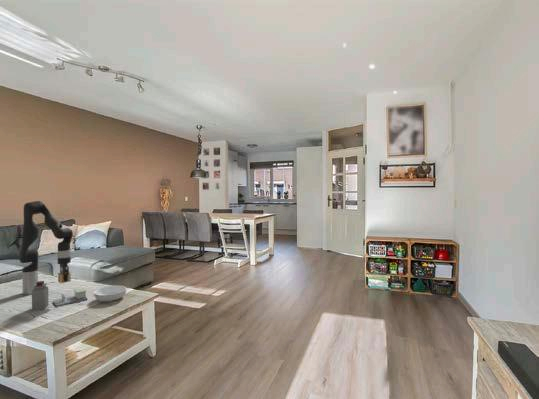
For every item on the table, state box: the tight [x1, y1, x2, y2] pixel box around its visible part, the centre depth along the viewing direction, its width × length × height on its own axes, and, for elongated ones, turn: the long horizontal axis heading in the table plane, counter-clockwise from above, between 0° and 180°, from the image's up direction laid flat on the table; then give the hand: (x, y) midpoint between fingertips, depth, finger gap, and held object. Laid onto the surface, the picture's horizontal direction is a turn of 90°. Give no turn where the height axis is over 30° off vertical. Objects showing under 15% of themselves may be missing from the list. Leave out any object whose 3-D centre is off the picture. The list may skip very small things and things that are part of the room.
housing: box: [73, 287, 87, 299], centre depth 203 cm, size 9×6×5 cm, turn 48°
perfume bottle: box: [31, 280, 49, 312], centre depth 186 cm, size 7×7×18 cm
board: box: [52, 293, 88, 308], centre depth 199 cm, size 12×18×6 cm, turn 138°
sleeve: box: [57, 271, 72, 284], centre depth 196 cm, size 6×6×6 cm
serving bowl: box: [93, 285, 128, 302], centre depth 203 cm, size 21×21×7 cm
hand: (64, 279), depth 196 cm, fingers closed on sleeve, 6 cm apart
